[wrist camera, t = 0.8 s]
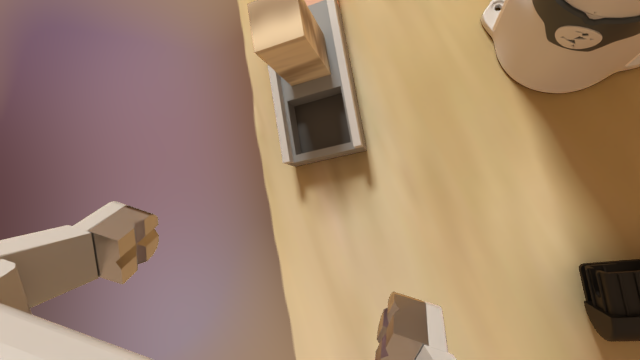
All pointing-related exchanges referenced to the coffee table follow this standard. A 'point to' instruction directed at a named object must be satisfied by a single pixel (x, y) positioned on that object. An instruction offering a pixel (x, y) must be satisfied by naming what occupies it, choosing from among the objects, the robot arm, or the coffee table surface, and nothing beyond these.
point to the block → (289, 39)
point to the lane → (320, 101)
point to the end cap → (613, 298)
